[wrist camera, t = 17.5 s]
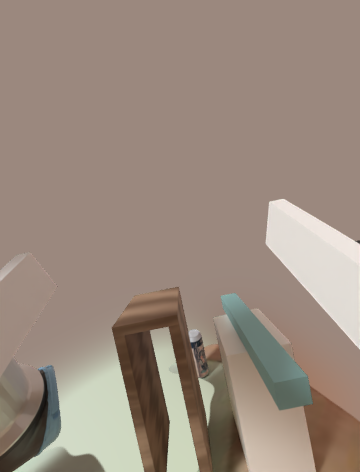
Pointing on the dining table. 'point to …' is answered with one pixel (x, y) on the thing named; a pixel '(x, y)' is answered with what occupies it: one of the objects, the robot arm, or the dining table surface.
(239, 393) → the pillar
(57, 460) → the dining table surface
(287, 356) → the bar
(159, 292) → the tall wooden grooved block
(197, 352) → the beer can
